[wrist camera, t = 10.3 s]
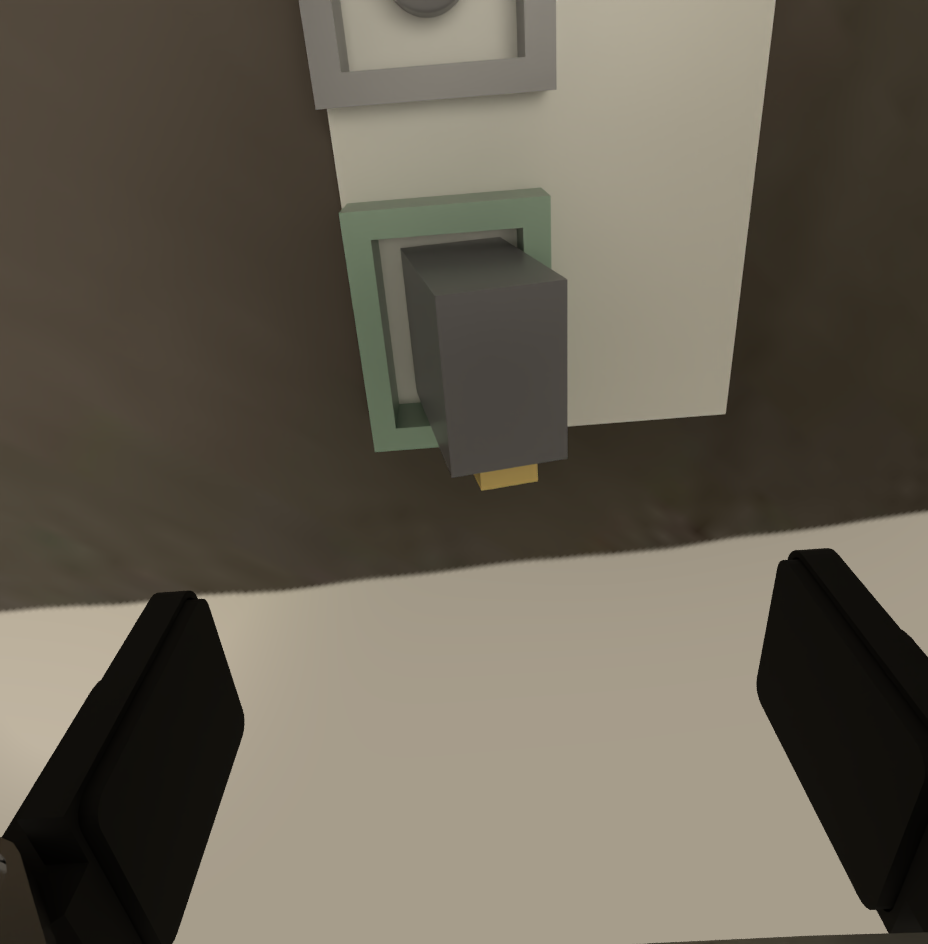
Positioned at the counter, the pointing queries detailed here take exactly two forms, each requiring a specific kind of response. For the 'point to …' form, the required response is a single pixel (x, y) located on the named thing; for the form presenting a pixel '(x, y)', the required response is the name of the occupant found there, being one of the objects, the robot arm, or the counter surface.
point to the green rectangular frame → (361, 247)
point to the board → (569, 165)
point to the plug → (489, 357)
